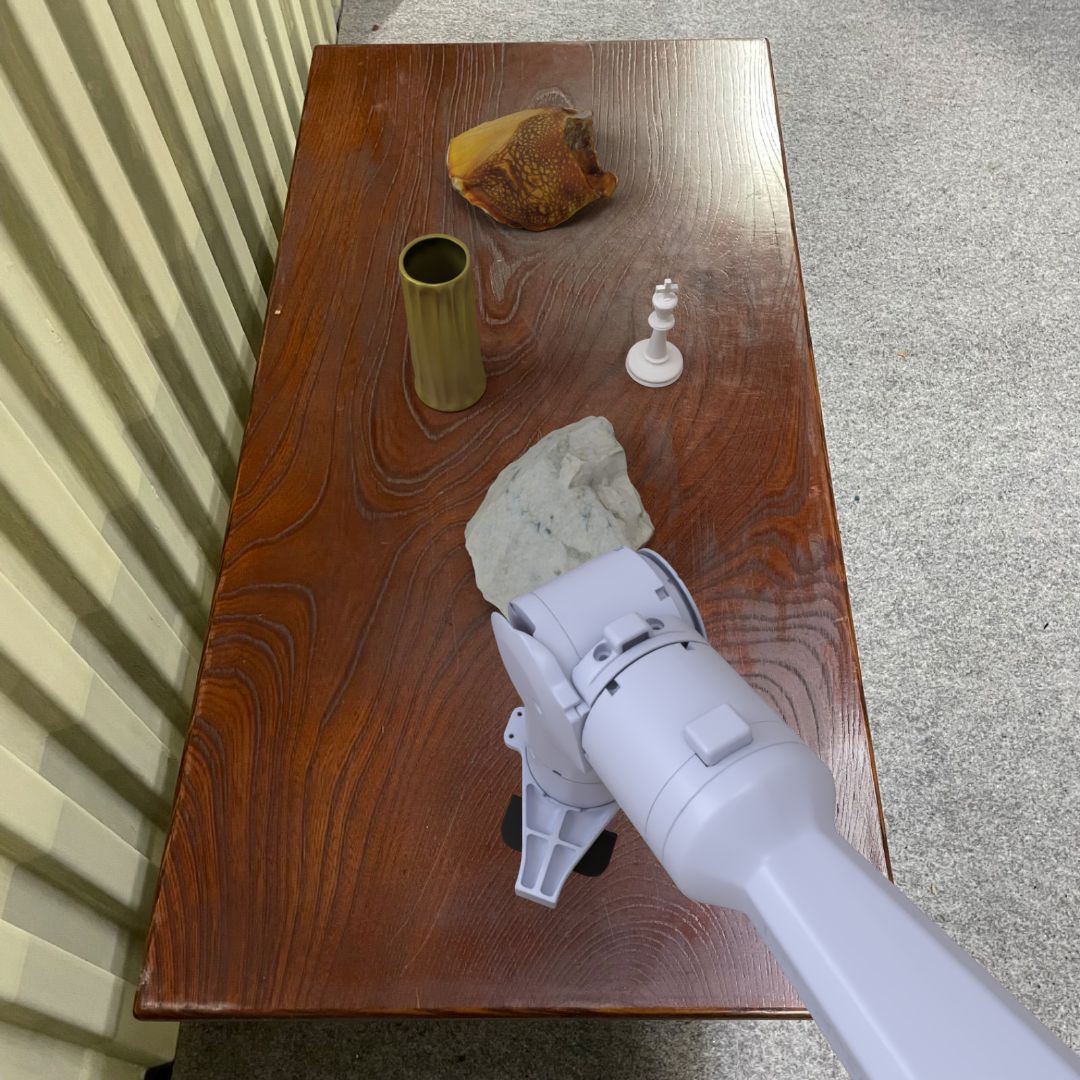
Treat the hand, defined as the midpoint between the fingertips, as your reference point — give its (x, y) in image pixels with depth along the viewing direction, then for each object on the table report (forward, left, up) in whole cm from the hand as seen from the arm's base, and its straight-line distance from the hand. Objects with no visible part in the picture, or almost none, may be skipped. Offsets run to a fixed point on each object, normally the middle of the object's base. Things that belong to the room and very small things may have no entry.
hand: (577, 794), depth 54 cm
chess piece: (+39, +9, -9) cm, 41 cm away
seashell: (+56, +28, -9) cm, 63 cm away
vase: (+30, +24, -9) cm, 39 cm away
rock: (+20, +10, -9) cm, 24 cm away
